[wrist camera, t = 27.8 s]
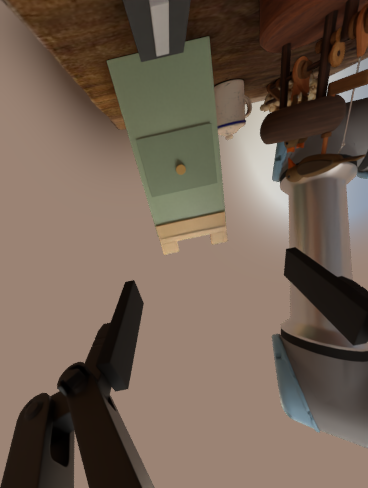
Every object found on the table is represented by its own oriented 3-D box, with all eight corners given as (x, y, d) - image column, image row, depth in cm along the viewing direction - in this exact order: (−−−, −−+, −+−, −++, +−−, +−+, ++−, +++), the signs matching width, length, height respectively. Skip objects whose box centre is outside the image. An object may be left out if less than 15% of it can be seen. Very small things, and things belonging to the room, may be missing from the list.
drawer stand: (211, 28, 21) (229, 243, 35) (194, 82, 37) (211, 216, 51) (102, 54, 22) (162, 257, 35) (130, 97, 37) (165, 226, 51)
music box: (345, -136, 10) (317, 197, 19) (484, -156, 11) (395, 166, 20) (223, 37, 23) (241, 184, 33) (292, 19, 25) (291, 166, 34)
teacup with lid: (201, 95, 46) (207, 144, 52) (219, 80, 38) (223, 139, 44) (239, 89, 49) (241, 137, 54) (263, 74, 41) (262, 131, 46)
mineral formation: (326, 69, 48) (270, 95, 59) (311, 50, 40) (250, 84, 51) (322, 104, 50) (269, 122, 61) (307, 93, 42) (249, 116, 53)
